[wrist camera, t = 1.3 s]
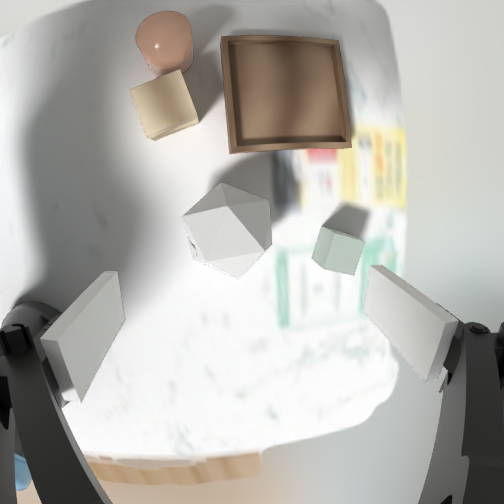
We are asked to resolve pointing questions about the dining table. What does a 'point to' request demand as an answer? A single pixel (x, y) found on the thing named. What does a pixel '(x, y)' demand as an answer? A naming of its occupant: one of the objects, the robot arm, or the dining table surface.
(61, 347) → the robot arm
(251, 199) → the die
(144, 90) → the oak block
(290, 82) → the walnut tray
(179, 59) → the peach rounded capsule
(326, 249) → the grey-green block
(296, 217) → the dining table surface
